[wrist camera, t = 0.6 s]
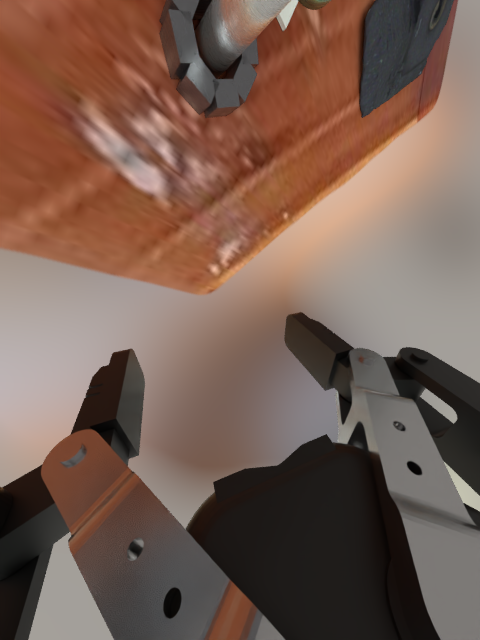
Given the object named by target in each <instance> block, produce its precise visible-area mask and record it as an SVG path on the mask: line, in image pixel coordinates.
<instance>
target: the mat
mask: <svg viewBox="0 0 480 640" xmlns="http://www.w3.org/2000/svg"><path fill="white" fill-rule="evenodd" d="M297 3H298V0H291V1H290V2H289V3H288V5H287V6H286V7H285V8H284V9H283V10H282V11H281V12H280V13H279V14H278V15H277V16H276V18H277V20H278V22H279V24H280V26H281V28H282V30H283V31H284V30H285V29H286V27H287V25H288V23H289V21H290V18H291V16H292V14H293V12H294V10H295V7H296V5H297Z"/></svg>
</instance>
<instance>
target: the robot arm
mask: <svg viewBox="0 0 480 640" xmlns="http://www.w3.org/2000/svg"><path fill="white" fill-rule="evenodd" d="M285 343H286V346H287V347H288V349H289V350H290V351H291V352H292V353H293V354H294V355H295V357H296V358H297V359H298V360H299V361H300V362H301V363H302V365H303V366H304V367H305V368H306V369H307V370H308V371H309V372H310V374H311V375H312V376H313V377H314V378H315V380H316V381H317V382H318V383H319V384H320V385H321V386H322V388H324V390H329V389H331V388H335V389H336V390H337V391H336V406H337V417H338V428H339V434H338V441H337V443H332V442H331V440H330V439H329V437H328V436H327V434H326V435H324V436H321V437H319V438H317V439H314V440H312V441H309V442H307V443H305V444H303V445H301V446H300V447H299V448H298V449H297V450H296V451H294V452H293V453H292V454H291V455H290V456H289V457H288V458H287V459H286V460H285V461H283V462H282V463H281V464H279V465H277V466H270V467H259V468H249V469H244V470H241V471H239V472H236V473H234V474H232V475H229V476H227V477H224V478H222V479H220V480H217V481H215V482H214V489H215V492H214V493H213V494H212V495H211V496H210V497H208V498H207V499H206V500H205V502H204V503H203V504H202V505H201V506H200V507H199V509H198V510H197V511H196V513H195V514H194V516H193V517H192V519H191V520H190V522H189V524H188V526H187V528H186V529H185V528H184V527H183V526H182V525H181V524H180V523H179V522H178V521H177V520H176V518H175V517H174V516H173V515H172V514H171V513H170V512H169V510H168V509H167V508H166V507H165V506H164V505H163V504H162V503H161V501H160V500H159V499H158V498H157V497H156V496H155V495H154V494H153V493H152V491H151V490H150V489H149V488H148V487H147V486H146V485H145V483H144V482H143V481H142V480H141V479H140V478H139V477H138V476H137V475H136V474H135V473H134V472H132V471H131V470H130V469H129V468H128V460H129V458H132V457H135V456H138V455H139V447H140V435H141V434H140V433H141V423H142V411H143V400H144V388H145V381H144V375H143V372H142V369H141V367H140V365H139V362H138V360H137V357H136V355H135V353H134V351H133V349H128V350H123V351H119V352H114V353H113V354H112V357H111V360H110V363H109V365H107V366H103V367H101V368H100V369H99V370H98V372H97V373H96V374H95V375H94V376H93V377H92V380H91V383H90V385H89V389H88V390H87V393H86V398H85V399H84V401H83V403H82V406H81V409H80V411H79V414H78V417H77V419H76V422H75V424H74V427H73V430H72V432H71V435H69V436H68V437H66V438H65V439H63V440H62V441H61V442H59V443H58V444H57V445H56V446H55V447H54V448H53V449H52V450H51V451H50V453H49V454H48V455H47V457H46V459H45V461H44V462H43V464H42V465H41V466H39V467H38V468H36V469H34V470H32V471H31V472H29V473H27V474H25V475H24V476H22V477H20V478H18V479H16V480H15V481H13V482H11V483H9V484H8V485H6V486H4V487H0V640H28V638H29V634H30V631H31V627H32V623H33V619H34V615H35V612H36V608H37V604H38V600H39V597H40V593H41V589H42V585H43V582H44V578H45V574H46V570H47V566H48V563H49V559H50V555H51V551H52V548H53V544H54V543H55V542H57V541H58V540H59V539H61V538H62V537H63V536H65V535H66V534H67V533H69V532H71V537H70V539H69V540H68V544H69V548H70V551H71V553H72V556H73V558H74V559H75V561H76V564H77V566H78V568H79V570H80V572H81V574H82V576H83V578H84V580H85V582H86V584H87V586H88V588H89V590H90V592H91V594H92V596H93V598H94V600H95V602H96V604H97V606H98V608H99V610H100V612H101V614H102V616H103V618H104V620H105V622H106V624H107V626H108V628H109V630H110V632H111V634H112V636H113V638H114V640H480V512H479V511H478V510H476V509H474V508H472V507H470V506H468V505H466V504H465V503H463V502H462V500H461V498H460V495H459V493H458V491H457V489H456V487H455V485H454V483H453V481H452V479H451V477H450V475H449V472H448V470H447V468H446V466H445V464H444V462H445V463H446V464H448V465H449V466H450V467H451V468H452V469H453V470H454V471H455V472H456V473H457V474H458V475H459V476H460V477H461V478H462V479H463V480H464V481H465V482H466V483H467V484H468V485H469V486H470V487H471V488H472V489H473V490H474V491H475V492H477V494H478V495H480V383H478V382H477V381H475V380H473V379H472V378H470V377H468V376H467V375H465V374H463V373H462V372H460V371H458V370H457V369H455V368H453V367H452V366H450V365H448V364H447V363H445V362H443V361H442V360H440V359H438V358H437V357H435V356H433V355H432V354H430V353H428V352H426V351H423V350H420V349H417V348H410V347H406V348H402V349H401V350H400V351H399V353H398V355H397V357H382V356H380V355H379V354H378V353H376V352H374V351H371V350H368V349H363V348H356V349H354V348H353V347H352V346H350V345H349V344H348V343H346V342H345V341H344V340H342V339H341V338H340V337H338V336H337V335H336V334H335V333H333V332H332V331H331V330H329V329H327V327H325V326H324V325H323V324H321V323H320V322H318V321H315V320H313V319H310V318H308V317H307V316H306V315H305V314H303V313H301V312H300V313H295V314H291V315H288V316H287V319H286V328H285ZM425 388H426V389H428V390H429V391H431V392H432V393H434V395H436V396H437V397H439V398H440V399H441V400H443V401H444V402H445V403H447V404H448V405H449V406H450V407H452V408H453V409H454V411H455V412H456V414H457V418H458V419H457V421H456V422H455V423H454V424H453V423H452V422H451V421H449V420H448V419H447V418H445V417H444V416H443V415H442V414H440V413H439V412H438V411H437V410H436V409H434V408H433V407H432V406H431V405H429V404H428V403H427V402H426V401H424V400H423V399H422V398H421V397H420V395H421V394H422V392H423V391H424V390H425ZM443 461H444V462H443Z"/></svg>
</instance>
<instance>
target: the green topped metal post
mask: <svg viewBox="0 0 480 640" xmlns="http://www.w3.org/2000/svg"><path fill="white" fill-rule="evenodd" d="M290 1H291V0H212V1H211V3H210V5H209V7H208V8H207V10H206V12H205V14H204V16H203V17H202V19H201V21H200V23H199V25H198V27H197V28H196V30H195V32H194V33H195V38H196V43H197V48H198V54H199V57H200V58H201V60H202V61H203V62H204V64H205V65H206V66H207V68H208V69H209V70H210V72H211V73H212V74H213V76H214V77H215V78H216V79H218V78H219V77H220V76H221V75H222V74H223V73H224V72H225V71H226V70H227V69H228V67H229V66H230V65H231V64H232V63H233V62H234V61H235V60H236V59H237V58H238V57H239V56H240V55H241V54H242V53H243V51H244V50H245V49H246V48H247V47H248V46H249V45H250V44H251V43H252V42H253V41H254V40H255V39H256V38H257V37H258V35H259V34H260V33H261V32H262V31H263V30H264V29H265V28H266V27H267V26H268V25H269V24H270V23H271V22H272V21H273V19H274V18H275V17H276V16H277V15H278V14H279V13H280V12H281V11H282V10H283V9H284V8H285V7H286V6H287V5H288V3H289V2H290ZM298 1H299V2H300V3H301V4H302V5H303V6H305V7H306V8H308V9H312V10H317V9H320V8H322V7H324V6H325V5H326V4H328V3H329V2H330V1H331V0H298Z"/></svg>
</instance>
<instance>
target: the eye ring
mask: <svg viewBox="0 0 480 640" xmlns="http://www.w3.org/2000/svg"><path fill="white" fill-rule="evenodd" d="M211 1H212V0H166V3H165V6H164V9H163V12H162V15H161V18H160V23H161V24H162V28H161V31H160V38H161V41H162V45H163V49H164V53H165V57H166V61H167V65H168V69H169V73H170V77H171V79H180V81H179V84H178V86H177V89H176V90H177V91H178V92H179V93H180V94H181V95H182V96H183V97H184V98H185V100H186V101H187V102H188V103H189V104H190V105H191V106H192V107H193V108H194V109H195V111H196V112H197V113H198V114H199V115H200V114H201V113H202V112H203V111H204V113H205V118H209V117H220V116H227V115H228V114H230V113H231V112H233V111H234V110H235V109H237V108H238V107H240V105H241V104H243V103H244V102H245V101H246V98H247V96H248V94H249V92H250V89H251V87H252V85H253V82H254V80H255V78H256V76H257V73H256V72H255V70H254V68H255V67H256V66H257V65H258V52H257V39H255V40H254V41H253V42H252V43H251V44H250V45H249V46H248V47H247V48H246V49H245V50H244V51H243V53H242V54H241V55H240V56H239V57H238V58H237V59H236V60H235V61H234V62H233V63H232V64H231V65H230V66H229V67H228V69H227V75H226V78H225V79H216V78H215V77H214V76H213V74H212V73H211V72H210V70H209V69H208V68H207V66H206V65H205V64H204V62H203V61H202V60H201V58H200V57H199V54H198V48H197V43H196V38H195V33H194V27H193V22H192V19H198V20H201V19H202V17H203V16H204V14H205V12H206V10H207V8H208V7H209V5H210V3H211Z"/></svg>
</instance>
